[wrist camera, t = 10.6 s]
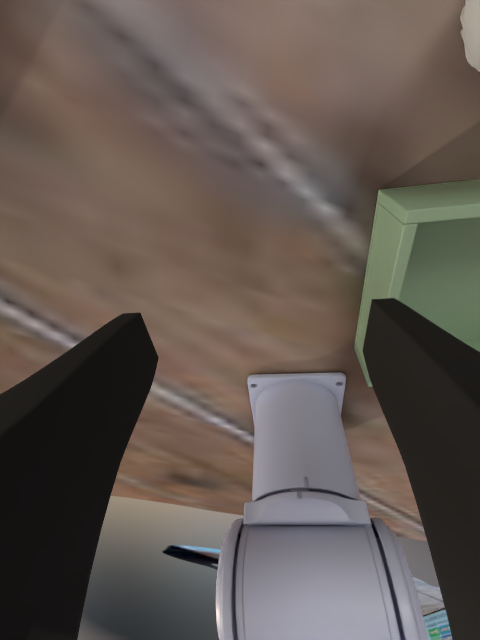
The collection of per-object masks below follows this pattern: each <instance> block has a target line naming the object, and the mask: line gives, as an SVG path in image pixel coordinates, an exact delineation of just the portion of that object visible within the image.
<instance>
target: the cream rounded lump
mask: <svg viewBox="0 0 480 640" xmlns="http://www.w3.org/2000/svg"><path fill="white" fill-rule="evenodd" d="M465 2H466V4H465V6H464V7H463V9H462V11H461V16H460V20H461V23H462V26H463V29H462V30H461V36H462V39H463V41H464V47H465V55H466V59H467V62H468V63H469V64H470V65H471V66H472V67H474V68H476V69H477V70H478V71H479V72H480V0H465Z"/></svg>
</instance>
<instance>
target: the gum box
mask: <svg viewBox="0 0 480 640" xmlns="http://www.w3.org/2000/svg"><path fill="white" fill-rule="evenodd" d="M423 618H424V623H425V627H426V632H427V637H428V640H453V639H452V635H451V631H450V626H449V622H448V618H447V614H446V610H445V609H444V610H441V611H439V612H435V613H432V614H430V615H427V616H424V617H423Z"/></svg>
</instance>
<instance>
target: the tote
mask: <svg viewBox="0 0 480 640" xmlns="http://www.w3.org/2000/svg"><path fill="white" fill-rule="evenodd" d="M385 298H395V299H397V300H398V301H400V302H402V303H403V304H405V305H407V306H408V307H410V308H411V309H413V310H414V311H416V312H417V313H419V314H420V315H422V316H423V317H425V318H427V319H428V320H430V321H431V322H433V323H434V324H436V325H437V326H439V327H440V328H442V329H443V330H445V331H447V332H448V333H450V334H451V335H453V336H454V337H456V338H458V339H459V340H461V341H462V342H464V343H466V344H467V345H469V346H471V347H472V348H474V349H476V350H477V351H479V352H480V179H474V180H465V181H455V182H446V183H437V184H427V185H418V186H409V187H399V188H390V189H381V190H379V191H378V197H377V204H376V210H375V217H374V223H373V229H372V236H371V242H370V249H369V255H368V261H367V268H366V274H365V280H364V287H363V293H362V300H361V306H360V312H359V319H358V325H357V332H356V338H355V344H354V349H355V352H356V355H357V357H358V360H359V363H360V366H361V368H362V371H363V374H364V377H365V379H366V382H367V385H368V387H373V386H372V384H371V381H370V378H369V374H368V371H367V367H366V363H365V359H364V355H363V351H362V350H363V345H364V339H365V334H366V328H367V323H368V317H369V312H370V306H371V301H372V299H385Z"/></svg>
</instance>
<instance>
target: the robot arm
mask: <svg viewBox="0 0 480 640" xmlns="http://www.w3.org/2000/svg"><path fill="white" fill-rule="evenodd" d="M362 351H363V355H364V359H365V363H366V367H367V371H368V374H369V378H370V381H371V384H372V386H373V389H374V391H375V393H376V396H377V398H378V401H379V403H380V406H381V408H382V410H383V413H384V415H385V418H386V420H387V422H388V425H389V427H390V429H391V432H392V434H393V437H394V439H395V441H396V444H397V446H398V448H399V451H400V454H401V456H402V459H403V462H404V464H405V467H406V470H407V474H408V477H409V480H410V483H411V487H412V490H413V493H414V496H415V500H416V503H417V506H418V510H419V513H420V517H421V520H422V524H423V527H424V531H425V534H426V538H427V541H428V545H429V548H430V551H431V556H432V559H433V563H434V567H435V571H436V575H437V578H438V582H439V586H440V590H441V594H442V598H443V601H444V606H445V610H446V614H447V618H448V622H449V626H450V631H451V635H452V639H453V640H480V352H479V351H477V350H476V349H474V348H472V347H471V346H469V345H467V344H466V343H464V342H462V341H461V340H459V339H458V338H456V337H454V336H453V335H451V334H450V333H448V332H447V331H445V330H443V329H442V328H440V327H439V326H437V325H436V324H434V323H433V322H431V321H430V320H428V319H427V318H425V317H423V316H422V315H420V314H419V313H417V312H416V311H414V310H413V309H411V308H410V307H408V306H407V305H405V304H403V303H402V302H400V301H398V300H397V299H395V298H385V299H372V301H371V306H370V312H369V317H368V323H367V328H366V334H365V339H364V345H363V350H362ZM157 362H158V355H157V353H156V351H155V348H154V346H153V343H152V341H151V338H150V336H149V333H148V331H147V328H146V326H145V323H144V321H143V318H142V316H141V313H127V314H122V315H120V316H118V317H116V318H115V319H113V320H112V321H110V322H109V323H107V324H106V325H104V326H103V327H101V328H100V329H98V330H97V331H96V332H94V333H93V334H91V335H90V336H89V337H87V338H86V339H84V340H83V341H81V342H80V343H79V344H77V345H76V346H74V347H73V348H72V349H70V350H69V351H67V352H66V353H64V354H63V355H62V356H60V357H59V358H57V359H56V360H54V361H53V362H51V363H50V364H48V365H47V366H45V367H43V368H42V369H40V370H39V371H37V372H36V373H34V374H33V375H31V376H30V377H28V378H27V379H25V380H24V381H22V382H20V383H19V384H17V385H15V386H14V387H12V388H10V389H9V390H7V391H5V392H4V393H2V394H0V640H77V638H78V632H79V627H80V622H81V617H82V612H83V607H84V602H85V597H86V592H87V587H88V583H89V578H90V573H91V569H92V565H93V561H94V557H95V552H96V548H97V544H98V540H99V536H100V532H101V528H102V524H103V521H104V517H105V513H106V510H107V506H108V502H109V499H110V495H111V492H112V489H113V485H114V482H115V479H116V475H117V472H118V469H119V465H120V462H121V460H122V457H123V454H124V451H125V449H126V446H127V444H128V441H129V439H130V437H131V434H132V432H133V429H134V427H135V425H136V422H137V420H138V417H139V415H140V413H141V410H142V408H143V405H144V403H145V400H146V398H147V396H148V393H149V391H150V388H151V385H152V382H153V378H154V375H155V371H156V367H157ZM247 382H248V389H249V395H250V402H251V408H252V414H253V421H254V427H255V437H254V463H253V489H252V502H245V504H244V519H237V520H235V521H234V523H233V524H232V526H231V528H230V529H229V531H228V532H227V534H226V536H225V538H224V541H223V544H222V547H221V552H220V557H219V563H218V572H217V583H216V619H217V629H218V634H219V639H220V640H428V637H427V632H426V627H425V623H424V618H423V614H422V610H421V606H420V602H419V599H418V595H417V592H416V588H415V585H414V581H413V578H412V575H411V572H410V569H409V566H408V563H407V560H406V557H405V555H404V552H403V549H402V547H401V544H400V542H399V540H398V538H397V536H396V534H395V533H394V531H393V530H391V529H390V528H389V527H388V526H387V525H386V524H385V523H384V521H383V520H382V519H380V518H371V519H370V516H369V512H368V508H367V504H366V501H365V500H361V499H360V495H359V490H358V486H357V482H356V478H355V474H354V469H353V465H352V461H351V457H350V453H349V449H348V444H347V440H346V436H345V432H344V428H343V423H342V419H341V410H342V404H343V397H344V390H345V383H346V377H345V374H344V373H340V372H337V373H298V374H258V375H250V376H248V380H247Z"/></svg>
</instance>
